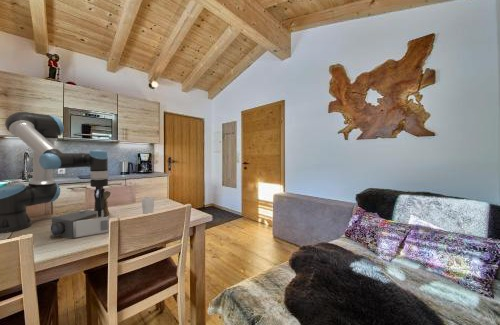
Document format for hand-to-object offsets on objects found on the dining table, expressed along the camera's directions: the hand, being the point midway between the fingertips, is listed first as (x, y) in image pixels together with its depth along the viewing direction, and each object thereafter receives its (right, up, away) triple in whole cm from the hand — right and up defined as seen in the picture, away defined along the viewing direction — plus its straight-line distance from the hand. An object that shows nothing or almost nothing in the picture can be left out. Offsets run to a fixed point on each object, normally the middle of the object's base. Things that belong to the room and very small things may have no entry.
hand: (100, 221), depth 110 cm
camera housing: (-13, -5, 0) cm, 14 cm away
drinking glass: (+17, -5, +18) cm, 25 cm away
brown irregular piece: (-17, -4, +25) cm, 30 cm away
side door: (-1, -5, -5) cm, 7 cm away
